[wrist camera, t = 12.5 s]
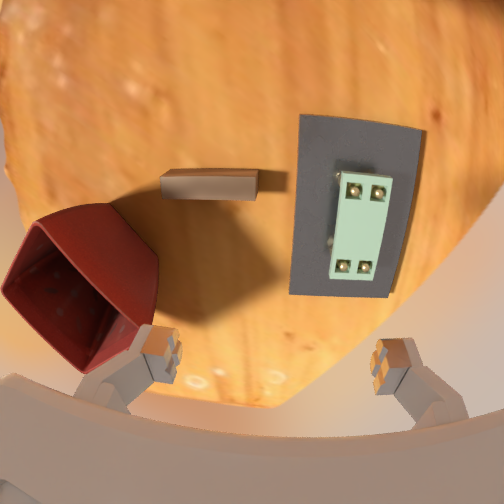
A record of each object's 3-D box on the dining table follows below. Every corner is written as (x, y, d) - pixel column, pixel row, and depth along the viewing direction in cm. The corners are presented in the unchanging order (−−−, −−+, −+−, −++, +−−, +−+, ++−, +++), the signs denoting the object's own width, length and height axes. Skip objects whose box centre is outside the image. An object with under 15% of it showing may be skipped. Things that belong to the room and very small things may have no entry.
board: (370, 275, 39) (372, 280, 38) (328, 273, 40) (329, 278, 39) (389, 175, 32) (392, 178, 31) (341, 170, 33) (343, 173, 32)
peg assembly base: (299, 114, 34) (301, 116, 29) (417, 128, 33) (437, 135, 28) (288, 288, 47) (288, 314, 42) (385, 292, 46) (395, 316, 40)
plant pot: (189, 264, 47) (151, 340, 32) (123, 311, 54) (83, 376, 39) (108, 172, 41) (34, 217, 26) (55, 239, 48) (-2, 290, 33)
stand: (170, 169, 40) (159, 176, 36) (258, 169, 38) (255, 177, 35) (172, 189, 41) (162, 199, 38) (258, 190, 40) (255, 200, 36)
